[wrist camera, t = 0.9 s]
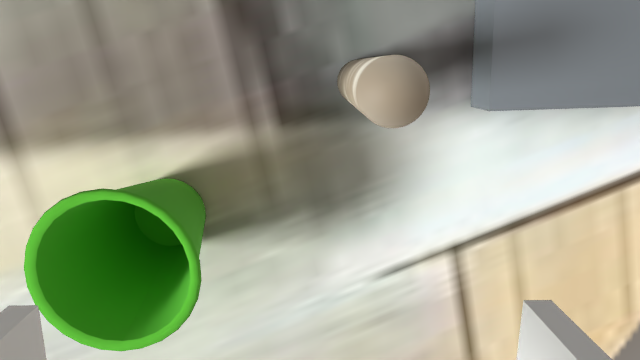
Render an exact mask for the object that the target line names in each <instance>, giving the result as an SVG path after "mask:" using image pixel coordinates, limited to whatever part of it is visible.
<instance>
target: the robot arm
mask: <svg viewBox="0 0 640 360" xmlns="http://www.w3.org/2000/svg"><path fill="white" fill-rule="evenodd" d="M0 360H46V353H45V347H44V340H43V334H42V327H41V321H40V314H39V308H38V305H30V306H8V307H7V308H6V309H4V310H3V311H2V312H1V313H0ZM517 360H612V359H611V358H610V357H609V356H608V355H607V354H606V353H605V352H604V351H603V350H602V349H601V348H600V347H599V346H598V345H597V344H596V343H595V342H593V341H592V340H591V339H590V338H589V337H588V336H587V335H586V334H585V333H584V332H583V331H582V330H581V329H580V328H579V327H578V326H577V325H576V324H575V323H574V322H573V321H572V320H571V319H570V318H569V317H568V316H567V315H566V314H565V313H564V312H563V311H562V310H561V309H560V308H559V307H558V306H557V305H556V304H554V303H553V302H552V301H551V300H523V309H522V318H521V326H520V335H519V343H518V352H517Z"/></svg>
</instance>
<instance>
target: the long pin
mask: <svg viewBox="0 0 640 360" xmlns="http://www.w3.org/2000/svg"><path fill="white" fill-rule="evenodd" d="M337 84H338V89H339V91H340V93H341V94H342V96H343V97H344V98H345V99H346V100H348V101H349V102H350V103H351V104H352V105H353V106H355V107H356V108H357V109H358V110H359V111H360V112H361V113H363V114H364V115H365V116H366V117H367V118H368V119H370V120H371V121H372V122H373V123H375V124H377V125H379V126H382V127H385V128H399V127H403V126H406V125H408V124H410V123H412V122H413V121H415V120H416V119H417V118H418V117H419V116H420V115H421V114H422V113H423V111H424V110H425V108H426V106H427V103H428V100H429V95H430V85H429V80H428V77H427V75H426V73H425V71H424V70H423V68H422V67H421V66H420V65H419V64H418V63H417V62H416V61H414V60H413V59H411V58H409V57H406V56H402V55H388V56H380V57H372V58H365V59H357V60H352V61H350V62H348V63H347V64H345V65H344V66H343V67H342V69H341V70H340V72H339V75H338V79H337Z"/></svg>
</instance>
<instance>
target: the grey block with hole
mask: <svg viewBox="0 0 640 360" xmlns="http://www.w3.org/2000/svg"><path fill="white" fill-rule="evenodd" d="M628 106H640V0H476V3H475V26H474V49H473V72H472V94H471V107H475V108H479V109H483V110H487V111H507V110H537V109H567V108H598V107H628Z"/></svg>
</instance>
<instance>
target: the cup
mask: <svg viewBox="0 0 640 360" xmlns="http://www.w3.org/2000/svg"><path fill="white" fill-rule="evenodd" d="M205 218H206V213H205V207H204V204H203V201H202V199H201V197H200V196H199V194H198V193H197V192H196V191H195V190H194V189H193V188H192V187H191V186H189V185H188V184H186V183H184V182H182V181H179V180H176V179H168V178H165V179H158V180H154V181H150V182H145V183H141V184H137V185H133V186H129V187H125V188H121V189H117V190H112V189H97V190H90V191H83V192H79V193H77V194H74V195H72V196H69V197H67V198H65V199H62V200H60V201H59V202H58V203H57V204H55V205H54V206H53V207H51V208H50V209H49V210H47V211H46V212H45V213H44V214H43V216H42V217H41V218H40V220H39V221H38V222H37V224H36V225H35V226H34V228H33V230H32V232H31V235H30V238H29V240H28V243H27V245H26V251H25V262H24V271H25V276H26V282H27V287H28V289H29V292H30V294H31V296H32V298H33V301H34V303H35V305H38V308H39V310H40V312H41V313H42V314H43V315H44V317H45V318H46V319H47V321H48V322H50V323H51V324H52V325H53V326H54V327H56V328H57V329H58V330H59V331H60V332H62V333H63V334H64V335H66V336H68V337H70V338H72V339H74V340H75V341H77V342H79V343H81V344H84V345H87V346H91V347H94V348H98V349H101V350H113V351H126V350H133V349H141V348H144V347H147V346H149V345H152V344H154V343H157V342H160V341H162V340H164V339H165V338H166V337H168V336H169V335H171V334H172V333H174V332H175V331H177V330H178V329H179V328H180V326H181V325H182V324H183V323H184V322H185V321H186V320H187V318H188V317H189V316H190V314H191V312H192V310H193V308H194V306H195V304H196V302H197V300H198V296H199V291H200V285H201V270H200V260H199V254H200V248H201V242H202V236H203V230H204V224H205Z"/></svg>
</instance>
